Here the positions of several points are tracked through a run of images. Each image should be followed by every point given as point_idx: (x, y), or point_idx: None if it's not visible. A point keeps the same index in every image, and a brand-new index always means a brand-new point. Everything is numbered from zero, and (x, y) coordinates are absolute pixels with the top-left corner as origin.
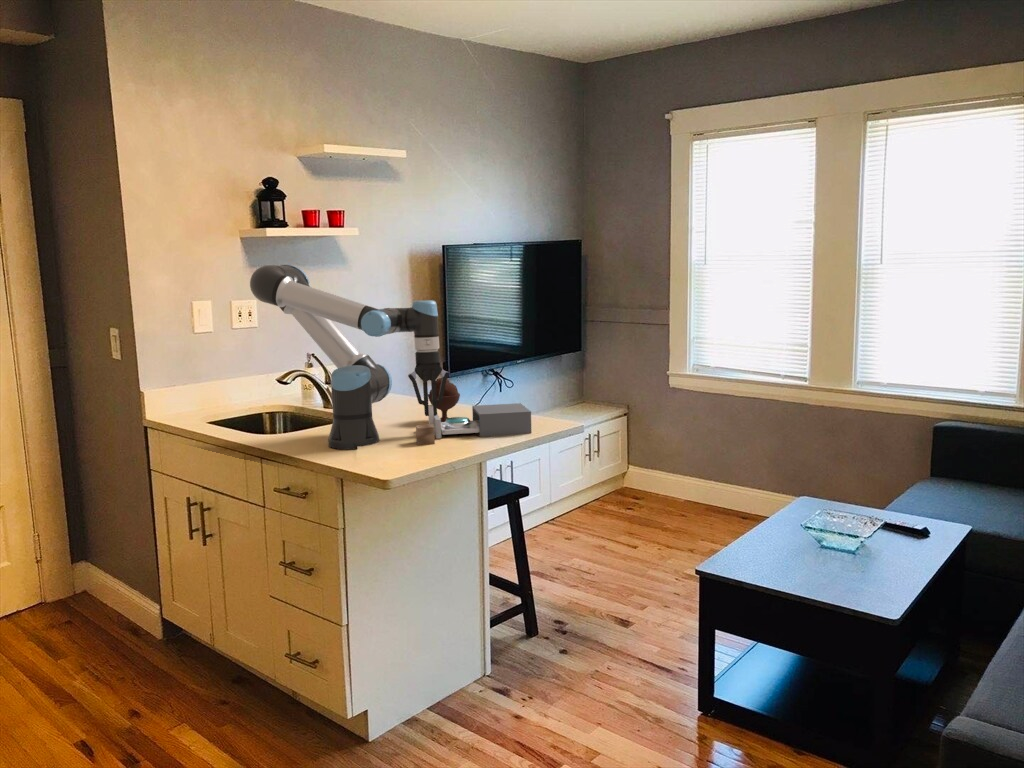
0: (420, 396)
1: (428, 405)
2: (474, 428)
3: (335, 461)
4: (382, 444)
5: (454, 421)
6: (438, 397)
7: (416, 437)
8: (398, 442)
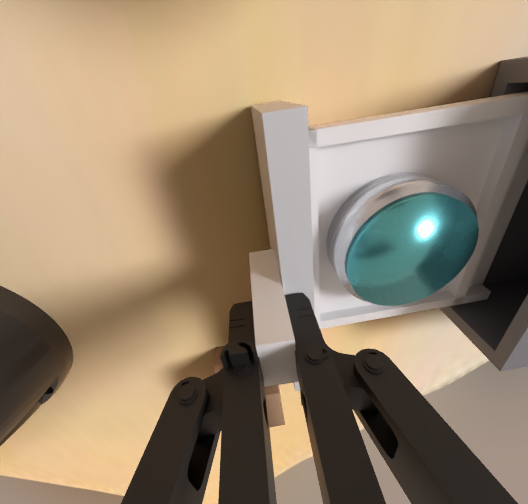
0: (202, 493)
1: (263, 365)
2: (436, 306)
3: (75, 475)
4: (108, 373)
5: (380, 304)
6: (372, 400)
7: (215, 361)
8: (154, 353)
